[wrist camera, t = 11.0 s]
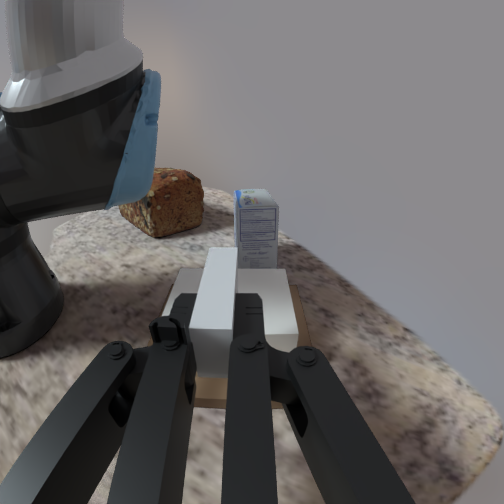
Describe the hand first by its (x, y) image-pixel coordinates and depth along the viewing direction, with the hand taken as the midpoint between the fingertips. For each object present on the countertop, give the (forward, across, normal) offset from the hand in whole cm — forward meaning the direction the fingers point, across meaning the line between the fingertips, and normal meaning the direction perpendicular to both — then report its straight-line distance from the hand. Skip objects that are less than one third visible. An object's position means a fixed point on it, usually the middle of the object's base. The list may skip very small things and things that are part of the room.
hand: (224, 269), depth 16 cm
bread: (+35, -16, -10) cm, 40 cm away
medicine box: (+18, +2, -10) cm, 20 cm away
